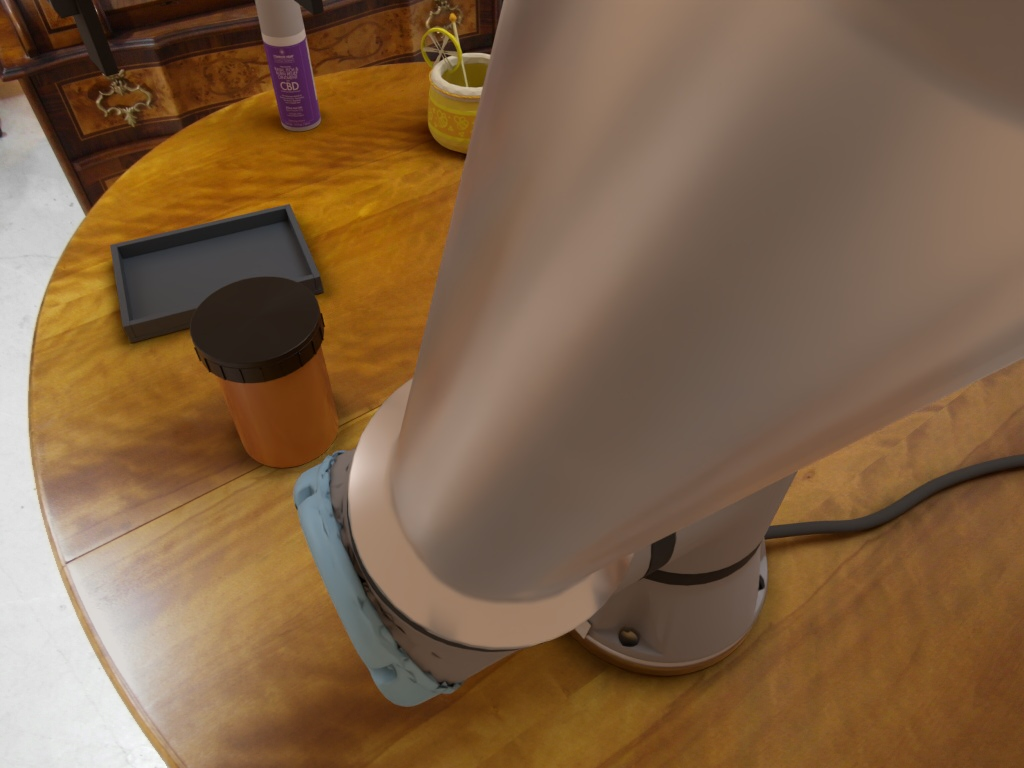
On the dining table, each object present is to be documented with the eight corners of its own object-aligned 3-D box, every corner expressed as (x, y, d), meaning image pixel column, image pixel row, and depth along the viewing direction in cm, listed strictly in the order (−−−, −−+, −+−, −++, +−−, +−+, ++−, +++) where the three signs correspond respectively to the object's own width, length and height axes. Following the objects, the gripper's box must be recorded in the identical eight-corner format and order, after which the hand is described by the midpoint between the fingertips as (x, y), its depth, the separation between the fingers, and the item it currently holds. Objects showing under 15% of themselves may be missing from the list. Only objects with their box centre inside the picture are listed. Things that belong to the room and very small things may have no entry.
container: (288, 135, 91) (259, 3, 79) (276, 117, 93) (246, -14, 82) (326, 125, 92) (303, -6, 81) (313, 107, 95) (289, -22, 84)
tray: (293, 219, 80) (289, 203, 78) (324, 292, 72) (320, 276, 71) (117, 261, 75) (109, 244, 74) (131, 343, 68) (122, 327, 66)
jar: (325, 382, 65) (299, 276, 56) (350, 449, 60) (326, 344, 52) (233, 409, 63) (191, 303, 54) (252, 481, 58) (209, 377, 50)
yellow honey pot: (537, 148, 90) (541, 45, 81) (449, 170, 86) (444, 65, 77) (491, 97, 97) (491, -2, 88) (409, 116, 94) (400, 15, 85)
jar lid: (308, 284, 58) (303, 263, 56) (339, 361, 53) (334, 341, 51) (188, 315, 55) (180, 294, 54) (209, 400, 50) (200, 379, 49)
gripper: (300, -472, 40) (352, -33, 56) (-295, -475, 29) (-17, 67, 45) (380, -461, 36) (411, 5, 52) (-268, -461, 25) (24, 124, 42)
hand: (212, 34), depth 49 cm, fingers open, 13 cm apart
